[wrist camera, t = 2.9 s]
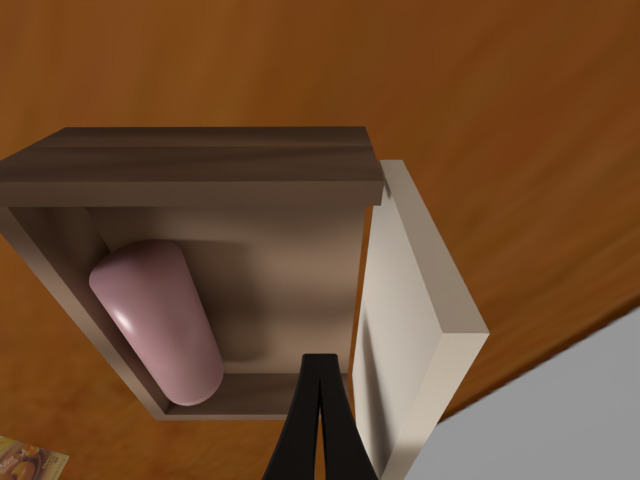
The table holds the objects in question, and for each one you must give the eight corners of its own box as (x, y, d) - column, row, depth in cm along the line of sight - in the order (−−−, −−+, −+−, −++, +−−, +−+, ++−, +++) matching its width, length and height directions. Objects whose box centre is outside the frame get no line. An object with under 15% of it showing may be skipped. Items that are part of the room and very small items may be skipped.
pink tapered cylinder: (117, 239, 13) (68, 298, 10) (193, 239, 13) (163, 297, 10) (182, 360, 19) (161, 416, 16) (234, 360, 19) (221, 416, 16)
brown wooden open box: (65, 127, 12) (-42, 182, 8) (365, 126, 12) (384, 181, 8) (182, 352, 22) (156, 420, 18) (345, 351, 22) (349, 420, 18)
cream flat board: (379, 160, 11) (442, 333, 5) (402, 160, 11) (489, 333, 5) (351, 375, 20) (364, 518, 15) (364, 375, 20) (381, 517, 15)
